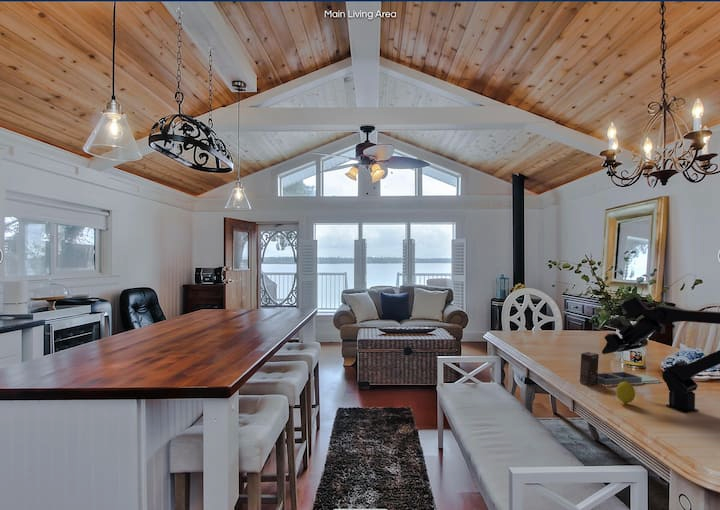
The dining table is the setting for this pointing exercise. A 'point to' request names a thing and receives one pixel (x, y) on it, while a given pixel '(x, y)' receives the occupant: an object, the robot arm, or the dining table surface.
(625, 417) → the dining table surface
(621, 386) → the lemon
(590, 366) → the box
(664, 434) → the dining table surface
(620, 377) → the tray
